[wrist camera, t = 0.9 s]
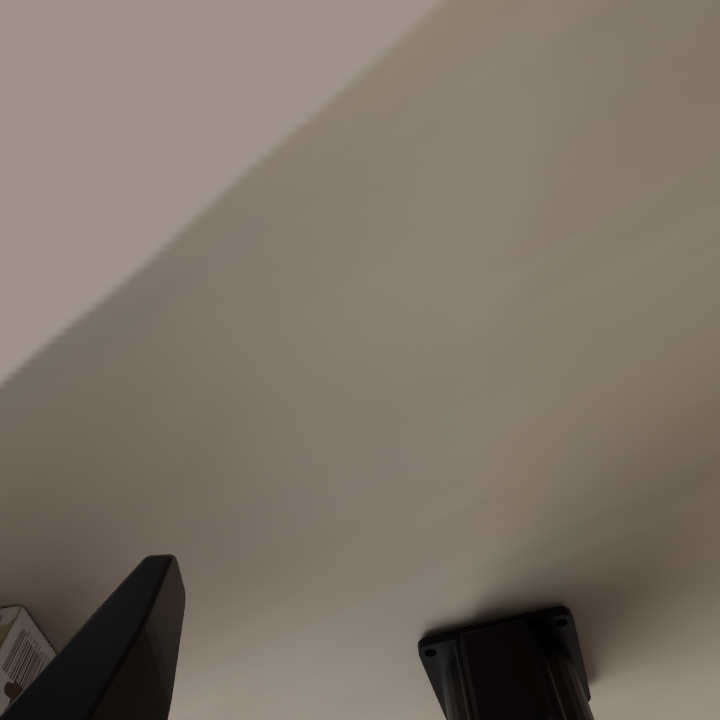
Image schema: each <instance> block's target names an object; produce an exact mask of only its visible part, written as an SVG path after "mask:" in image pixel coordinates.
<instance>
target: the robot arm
mask: <svg viewBox="0 0 720 720" xmlns="http://www.w3.org/2000/svg"><path fill="white" fill-rule="evenodd" d="M184 609H185V589H184V585H183V581H182V577H181V573H180V569H179V566H178V562H177V559H176V557H175V556H174V555H171V554H166V555H150V556H147V557H146V558H144V559H143V560H142V561H141V563H140V564H139V565H138V566H137V567H136V568H135V569H134V570H133V571H132V572H131V573H130V575H129V576H128V577H127V578H126V579H125V580H124V581H123V582H122V583H121V584H120V585H119V587H118V588H117V589H116V590H115V591H114V592H113V593H112V594H111V595H110V596H109V598H108V599H107V600H106V601H105V602H104V603H103V604H102V605H101V606H100V607H99V608H98V610H97V611H96V612H95V613H94V614H93V615H92V616H91V617H90V618H89V619H88V620H87V622H86V623H85V624H84V625H83V626H82V627H81V628H80V629H79V630H78V631H77V632H76V634H75V635H74V636H73V637H72V638H71V639H70V640H69V641H68V642H67V643H66V644H65V646H64V647H63V648H62V649H61V650H60V651H59V652H58V653H57V654H56V655H55V656H54V658H53V659H52V660H51V661H50V662H49V663H48V664H47V665H46V666H45V667H44V668H43V670H42V671H41V672H40V673H39V674H38V675H37V676H36V677H35V678H34V679H33V680H32V682H31V683H30V684H29V685H28V686H27V687H26V688H25V689H24V690H23V691H22V692H21V694H20V695H19V696H18V697H17V698H16V699H15V700H14V701H13V702H12V703H11V704H10V706H9V707H8V708H7V709H6V710H5V711H4V712H3V713H2V714H1V715H0V720H168V715H169V711H170V706H171V700H172V694H173V687H174V680H175V673H176V666H177V659H178V652H179V644H180V637H181V630H182V623H183V616H184ZM418 651H419V657H420V659H421V661H422V664H423V666H424V668H425V671H426V673H427V675H428V678H429V680H430V682H431V685H432V687H433V689H434V692H435V694H436V696H437V699H438V701H439V703H440V706H441V708H442V710H443V712H444V715H445V717H446V719H447V720H594V717H593V714H592V712H591V709H590V706H589V704H588V702H589V701H590V698H591V696H590V691H589V687H588V682H587V678H586V673H585V669H584V664H583V659H582V655H581V650H580V646H579V641H578V636H577V632H576V627H575V623H574V619H573V616H572V614H571V611H570V610H569V609H568V608H567V607H563V606H559V607H553V608H549V609H545V610H541V611H536V612H532V613H528V614H523V615H519V616H515V617H510V618H506V619H502V620H498V621H493V622H489V623H485V624H480V625H476V626H472V627H467V628H463V629H459V630H455V631H450V632H446V633H442V634H437V635H433V636H429V637H425V638H423V639H421V640H420V641H419V642H418Z"/></svg>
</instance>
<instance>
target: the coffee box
mask: <svg viewBox="0 0 720 720" xmlns="http://www.w3.org/2000/svg"><path fill="white" fill-rule="evenodd" d="M55 655H56V653H55V652H54V650H53V649H52V647H51V646H50V645H49V643H48V642H47V640H46V639H45V637H44V636H43V635H42V633H41V632H40V630H39V629H38V628H37V626H36V625H35V623H34V622H33V620H32V619H31V618H30V616H29V615H28V613H27V612H26V610H25V609H24V608H23V607H21V606H15V607H8V608H1V609H0V715H1V714H2V713H3V712H4V711H5V710H6V709H7V708H8V707H9V706H10V704H11V703H12V702H13V701H14V700H15V699H16V698H17V697H18V696H19V695H20V694H21V692H22V691H23V690H24V689H25V688H26V687H27V686H28V685H29V684H30V683H31V682H32V680H33V679H34V678H35V677H36V676H37V675H38V674H39V673H40V672H41V671H42V670H43V668H44V667H45V666H46V665H47V664H48V663H49V662H50V661H51V660H52V659H53V658H54V656H55Z"/></svg>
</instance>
